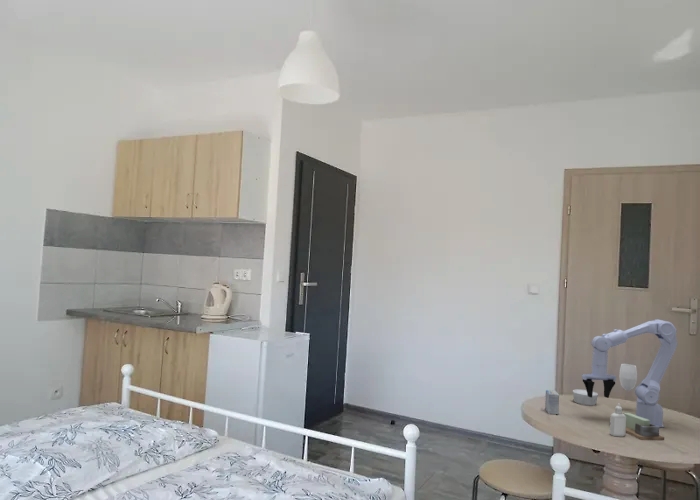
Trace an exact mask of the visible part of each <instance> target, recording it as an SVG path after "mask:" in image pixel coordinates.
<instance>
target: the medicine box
mask: <svg viewBox="0 0 700 500" xmlns="http://www.w3.org/2000/svg"><path fill="white" fill-rule="evenodd" d="M544 400H545V401H544V402H545V403H544V404H545V405H544V409H545V411H546V412H547V414H548V415H549V414H550V415H556V414H558V415H559V412H560V409H559V408H560V394H559V393H558V392H557V390H551V389H546V390H545V399H544Z"/></svg>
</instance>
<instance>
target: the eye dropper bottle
mask: <svg viewBox="0 0 700 500" xmlns="http://www.w3.org/2000/svg"><path fill="white" fill-rule="evenodd" d="M609 434H610V435H611V436H613V437H625V436H626V416H625V415H624V414H623V407H621V403H617V404H616V406H615V409H614V412H613V413H611V414H610V421H609Z"/></svg>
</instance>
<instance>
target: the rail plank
mask: <svg viewBox="0 0 700 500" xmlns="http://www.w3.org/2000/svg"><path fill="white" fill-rule="evenodd" d="M622 414H624V415H625V416H626V427H628V428H630V429H633V430H635V423H637V424H639V425H642V426H650V420H648V419H645V418H642V417H639V416H636V414H633V413H631V412H622Z"/></svg>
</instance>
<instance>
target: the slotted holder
mask: <svg viewBox="0 0 700 500" xmlns="http://www.w3.org/2000/svg"><path fill="white" fill-rule="evenodd" d="M660 428H661V427H657V426H655V425H653V424H650V426H642V425H639V424H637V423H635V430H633V429H630V428H628V427H626V432H625V434H628V435H630V436H632V437H633V438H636V439H638V440H640V441H641V440H642V441H665V437H664V436H662V435H660Z"/></svg>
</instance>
